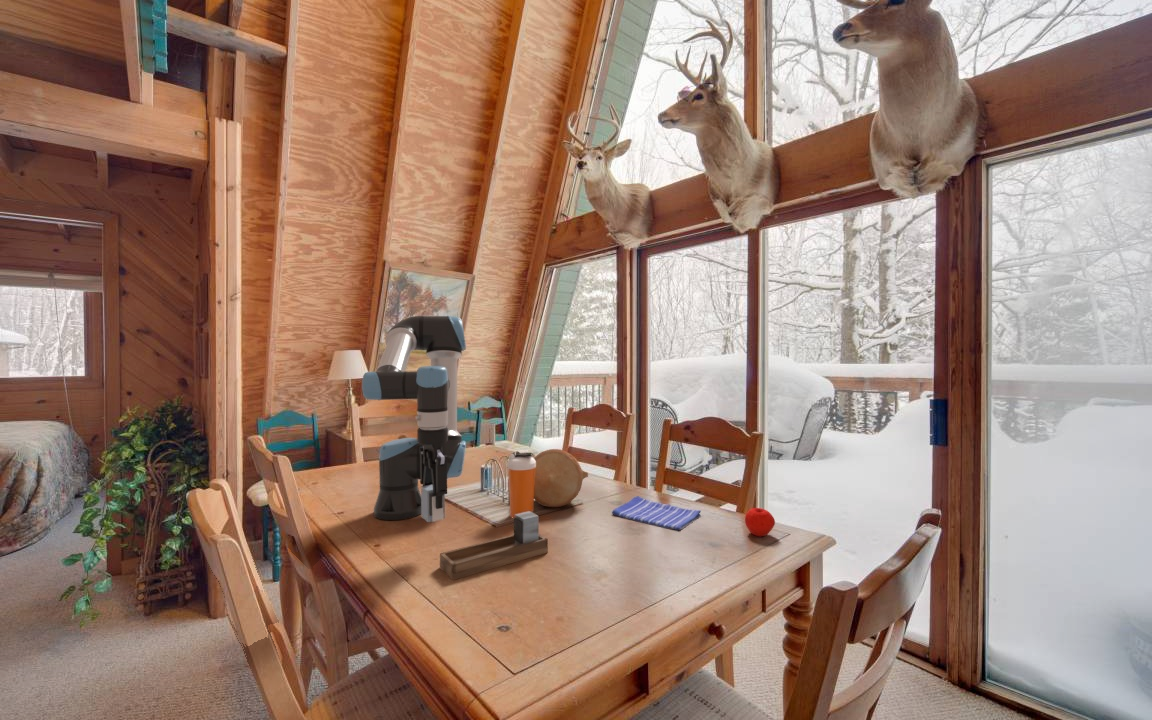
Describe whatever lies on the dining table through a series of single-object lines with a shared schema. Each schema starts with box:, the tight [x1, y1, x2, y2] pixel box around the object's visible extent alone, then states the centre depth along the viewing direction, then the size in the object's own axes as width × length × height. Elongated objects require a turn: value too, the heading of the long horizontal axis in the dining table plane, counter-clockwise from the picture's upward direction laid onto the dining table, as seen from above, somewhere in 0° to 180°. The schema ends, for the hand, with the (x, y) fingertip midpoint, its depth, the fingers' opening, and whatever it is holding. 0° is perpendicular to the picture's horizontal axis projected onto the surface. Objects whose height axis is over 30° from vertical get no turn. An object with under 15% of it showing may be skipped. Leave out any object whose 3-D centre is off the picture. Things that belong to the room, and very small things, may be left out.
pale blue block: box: [420, 485, 446, 523], centre depth 130 cm, size 4×5×8 cm
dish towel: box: [611, 495, 702, 531], centre depth 161 cm, size 17×24×3 cm
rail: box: [439, 511, 549, 581], centre depth 127 cm, size 8×26×10 cm, turn 126°
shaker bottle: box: [506, 450, 536, 519], centre depth 159 cm, size 9×9×20 cm
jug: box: [533, 448, 589, 508], centre depth 177 cm, size 20×19×30 cm
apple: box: [744, 507, 776, 537], centre depth 145 cm, size 8×8×7 cm
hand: (433, 516), depth 131 cm, fingers closed on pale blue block, 5 cm apart
